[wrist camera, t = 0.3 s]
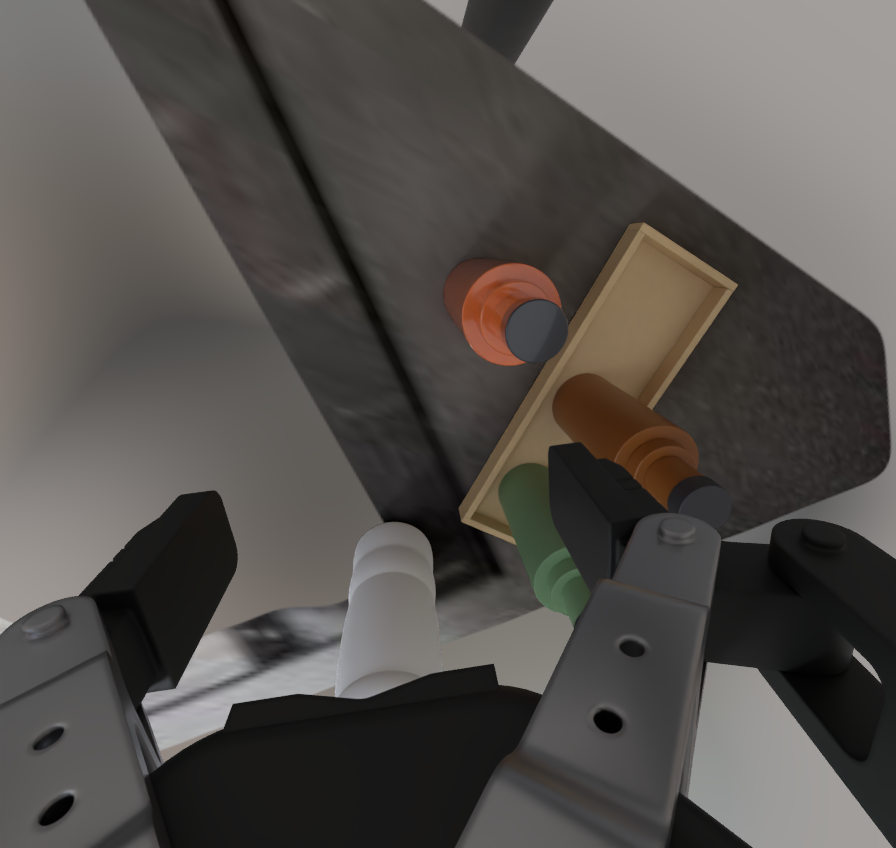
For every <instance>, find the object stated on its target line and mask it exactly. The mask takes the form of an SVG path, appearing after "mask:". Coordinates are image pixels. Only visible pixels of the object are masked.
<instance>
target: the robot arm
mask: <svg viewBox="0 0 896 848" xmlns="http://www.w3.org/2000/svg"><path fill="white" fill-rule="evenodd" d="M548 473H549V501H550V511H551V516H552V520H553V523H554V526H555V528H556V530H557V532H558V534H559V535H560V537H561V539H562V541H563V543H564V545H565V547H566V548H567V550H568V552H569V554H570V556H571V558H572V560H573V561H574V563H575V565H576V567H577V569H578V571H579V572H580V574H581V576H582V578H583V580H584V582H585V584H586V585H587V587H588V589H589V591H590V593H591V595H590V597H589V599H588V601H587V603H586V605H585V607H584V609H583V612H582V614H581V616H580V618H579V620H578V622H577V624H576V626H575V628H574V630H573V632H572V634H571V637H570V639H569V641H568V643H567V645H566V647H565V649H564V651H563V653H562V655H561V657H560V659H559V662H558V664H557V666H556V668H555V670H554V672H553V674H552V676H551V678H550V680H549V682H548V684H547V687H546V689H545V691H544V693H543V695H541V694H538V693H535V692H532V691H529V690H526V689H521V688H516V687H511V686H502V685H498V681H497V677H496V671H495V667H494V664H489V665H483V666H477V667H470V668H464V669H457V670H451V671H444V672H438V673H431V674H428V675H426V676H423V677H421V678H418V679H415V680H413V681H410V682H408V683H405V684H402V685H400V686H397V687H395V688H392V689H389V690H387V691H384V692H382V693H379V694H376V695H374V696H371V697H368V698H363V699H353V698H341V697H328V696H316V695H304V694H295V695H288V696H282V697H275V698H269V699H262V700H256V701H249V702H243V703H236V704H233V705H232V708H231V710H230V713H229V716H228V719H227V721H226V724H225V727H224V729H222V730H220V731H217V732H215V733H213V734H211V735H209V736H207V737H205V738H203V739H201V740H199V741H197V742H195V743H194V744H192V745H190V746H189V747H187V748H185V749H183V750H182V751H180V752H179V753H177V754H176V755H175V756H173V757H172V758H170V759H169V760H167V761H166V762H165V763H164V762H163V760H162V757H161V754H160V751H159V748H158V745H157V742H156V740H155V737H154V734H153V731H152V728H151V725H150V722H149V720H148V717H147V714H146V712H145V710H144V708H143V705H142V703H141V702H142V700H143V698H144V697H145V695H146V693H149V692H156V691H162V690H169V689H175V688H176V686H177V685H178V683H179V681H180V679H181V677H182V675H183V673H184V671H185V669H186V667H187V665H188V663H189V661H190V659H191V657H192V655H193V653H194V651H195V649H196V648H197V646H198V644H199V642H200V640H201V638H202V636H203V634H204V632H205V630H206V628H207V626H208V624H209V622H210V620H211V618H212V616H213V614H214V612H215V611H216V608H217V607H218V605H219V603H220V601H221V599H222V597H223V595H224V593H225V591H226V589H227V587H228V585H229V583H230V581H231V579H232V577H233V575H234V573H235V571H236V568H237V560H238V558H237V557H238V556H237V555H238V554H237V547H236V543H235V540H234V537H233V534H232V531H231V527H230V524H229V521H228V518H227V515H226V512H225V508H224V505H223V502H222V499H221V497H220V495H219V494H218V493H217V492H216V491H205V492H198V493H190V494H184V495H180V496H179V497H177V498H176V500H175V501H174V502H173V503H172V504H171V505H170V506H169V508H168V509H167V510H166V511H165V512H164V513H163V514H162V515H161V517H160V518H158V519H156V520H155V521H153V522H152V523H150V524H149V525H147V526H146V527H144V528H143V529H141V530H140V531H138V532H137V533H136V534H135V535H134V536H133V538H132V539H131V540H130V541H129V542H128V543H127V544H126V545H125V548H124V549H121V550H120V552H119V553H118V554H117V555H116V556H115V557H114V558H113V561H112V562H110V563H108V564H107V566H106V567H105V568H104V569H103V570H102V571H101V572H100V573H99V574H98V575H97V577H95V579H94V580H93V581H92V582H91V583H90V584H89V585H88V586H87V587H86V588H85V589H84V591H82V593H81V594H80V595H79V596H74V597H69V598H64V599H61V600H57V601H54V602H52V603H49V604H47V605H44V606H42V607H40V608H38V609H36V610H34V611H32V612H30V613H28V614H27V615H25V616H23V617H22V618H20V619H19V620H17V621H16V622H14V623H13V624H12V625H11V626H9V627H8V628H7V629H6V630H5V631H4V632H3V633H2V634H1V635H0V848H752V847H751V846H750V845H748V844H747V843H746V842H745V841H743V840H742V839H741V838H739V837H738V836H737V835H735V834H734V833H733V832H731V831H730V830H729V829H727V828H726V827H725V826H724V825H722V824H721V823H720V822H718V821H717V820H716V819H714V818H713V817H712V816H710V815H709V814H708V813H706V812H705V811H704V810H702V809H701V808H700V807H698V806H697V805H696V804H694V803H693V802H692V801H691V800H689V799H688V791H689V784H690V777H691V768H692V760H693V753H694V747H695V740H696V734H697V728H698V721H699V714H700V708H701V702H702V695H703V689H704V682H705V676H706V669H707V662H711V663H720V664H728V665H737V666H745V667H753V668H758V670H759V671H760V673H761V674H762V675H763V677H764V678H765V679H766V681H767V682H768V683H769V685H770V686H771V687H772V688H773V690H774V691H775V692H776V694H777V695H778V696H779V698H780V699H781V700H782V702H783V703H784V704H785V706H786V707H787V708H788V710H789V711H790V712H791V714H792V715H793V716H794V718H795V719H796V720H797V722H798V723H799V724H800V725H801V727H802V728H803V730H804V731H805V732H806V733H807V735H808V736H809V737H810V739H811V740H812V741H813V743H814V744H815V745H816V746H817V748H818V749H819V751H820V752H821V753H822V755H823V756H824V757H825V758H826V760H827V761H828V763H829V764H830V765H831V766H832V768H833V769H834V770H835V772H836V773H837V774H838V776H839V777H840V778H841V780H842V781H843V782H844V784H845V785H846V786H847V788H848V789H849V790H850V791H851V793H852V794H853V795H854V797H855V798H856V799H857V801H858V802H859V803H860V805H861V806H862V807H863V809H864V810H865V811H866V813H867V814H868V815H869V816H870V818H871V819H872V821H873V822H874V823H875V825H876V826H877V827H878V828H879V830H880V831H881V832H882V834H883V835H884V836H885V838H886V839H887V840H888V842H889V843H890V844H891V846H892V847H893V848H896V559H895V558H893V557H892V556H890V555H889V554H887V553H886V552H884V551H883V550H882V549H880V548H879V547H877V546H876V545H874V544H873V543H871V542H870V541H868V540H867V539H865V538H864V537H862V536H861V535H859V534H858V533H856V532H853V531H852V530H850V529H847V528H844V527H842V526H839V525H836V524H833V523H828V522H825V521H819V520H811V519H791V520H786V521H782V522H780V523H778V524H776V525H775V526H774V527H773V529H772V533H771V540H770V544H756V543H738V542H726V541H721V538H720V535H719V534H718V532H717V531H716V530H715V529H714V528H713V527H712V526H710V525H709V524H707V523H706V522H704V521H702V520H700V519H697V518H694V517H691V516H687V515H683V514H677V513H669V512H668V511H667V510H666V509H665V508H664V507H663V506H662V505H661V504H660V503H659V502H658V501H657V500H656V499H655V498H654V497H653V496H652V495H651V494H650V493H649V492H648V491H647V490H646V489H645V488H642V485H641V484H640V483H639V482H638V481H637V480H636V479H633V476H632V475H631V474H630V473H629V472H628V471H627V470H626V469H625V468H624V467H623V466H621V465H619V464H617V463H615V462H612V461H610V460H608V459H606V458H602V459H596V458H595V457H594V456H593V455H592V454H591V453H590V451H589V450H588V449H587V448H586V447H585V446H584V445H583V444H582V443H581V442H575V443H568V444H560V445H553V446H550V447H549V450H548ZM854 648H855V649H856V650H857V651H858V652H859V653H860V654H861V655H862V656H863V657H864V658H865V659H866V660H867V661H868V662H869V663H870V664H871V665H872V667H873V668H874V669H875V671H876V673H877V674H878V676H879V678H880V680H881V683H882V684H881V683H880V682H879V681H878V680H877V679H876V678H875V677H874V676H873V675H872V674H871V673H870V672H869V671H868V670H867V669H866V668H865V667H864V666H863V665H862V664H861V663H860V662H859V661H858V660H857V659H856V658H855V657H854V656H853V655H852V653H853V650H854Z"/></svg>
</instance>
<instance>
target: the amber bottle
mask: <svg viewBox="0 0 896 848" xmlns="http://www.w3.org/2000/svg"><path fill="white" fill-rule="evenodd" d="M552 411H553V416H554V419H555V421H556V422H557V424H558V425H559V426H560V427H561V429H562V430H563V431H564V432H565V433H566V434H567V435H568V437H569V438H570V439H571V440H572V441H573V442H574V443H575V442H581V443H582V444H583V445H584V446H585V447H586V448H587V449H588V450H589V451H590V453H591V454H592V455H593V456H594V457H595V458H596V459H602V458H606V459H608V460H610V461H612V462H615V463H617V464H619V465H621V466H623V467H624V468H625V469H626V470H627V471H628V472H629V473H630V474H631V475H632V476H633V479H636V480H637V481H638V482H639V483H640V484H641V485H642V488H645V489H646V490H647V491H648V492H649V493H650V494H651V495H652V496H653V497H654V498H655V499H656V500H657V501H658V502H659V503H660V504H662V505H663V506H664V507H665V508H666V509H667V510H668V511H669V513H677V514H683V515H687V516H691V517H694V518H697V519H700V520H702V521H704V522H706V523H707V524H709V525H710V526H712V527H713V528H714V529H717V528H718V527H720V526H721V525H722V524H723V523H724V522H725V521H726V520H727V518H728V517H729V515H730V512H731V509H732V500H731V497H730V494H729V493H728V492H727V491H726V490H725V489H724V488H723V487H721V486H720V485H719V484H717V483H716V482H715V481H713V480H712V479H710V478H708V477H706V476H703V475H702V474H701V473H699V472H698V471H697V467H698V461H699V455H698V450H697V446H696V444H695V442H694V440H693V439H692V437H691V436H690V435H689V434H688V433H687V432H685V431H684V430H682V429H681V428H679V427H678V426H676V425H675V424H673V423H672V422H670V421H669V420H667V419H666V418H664V417H662V416H661V415H659V414H658V413H656V412H655V411H653V410H652V409H650V408H649V407H647V406H646V405H644V404H642V403H641V402H639V401H638V400H636V399H635V398H633V397H632V396H630V395H629V394H627V393H626V392H624V391H622V390H621V389H619V388H618V387H616V386H615V385H613V384H612V383H610V382H609V381H607V380H606V379H604V378H602V377H601V376H598V375H596V374H589V373H586V374H579V375H576V376H574V377H571V378H570V379H568V380H567V381H565V382H564V383H563V384H562V385H561V386H560V388H559V389H558V390H557V392H556V394H555V396H554V399H553V404H552Z"/></svg>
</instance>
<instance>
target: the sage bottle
mask: <svg viewBox="0 0 896 848" xmlns="http://www.w3.org/2000/svg"><path fill="white" fill-rule="evenodd" d="M498 496H499V500H500V503H501V506H502V508H503V511H504V514H505V516H506V519H507V521H508V524H509V527H510V529H511V532H512V535H513V537H514V540H515V542H516V545H517V548H518V550H519V553H520V555H521V558H522V561H523V563H524V566H525V569H526V571H527V574H528V576H529V579H530V582H531V584H532V587H533V589H534V592H535V595H536V597H537V598H538V600H539V601H540V602H541V603H542V604H543V605H544V606H545V607H547V608H549V609H550V610H553V611H555V612H560V613H562V614H564V615H567V616H569V618H570V620H571V622H572V625H573V627H574V628H575V626H576V624H577V622H578V620H579V618H580V616H581V614H582V612H583V609H584V607H585V605H586V603H587V601H588V599H589V597H590V595H591V593H590V591H589V589H588V587H587V585H586V584H585V582H584V580H583V578H582V576H581V574H580V572H579V571H578V569H577V567H576V565H575V563H574V561H573V560H572V558H571V556H570V554H569V552H568V550H567V548H566V547H565V545H564V543H563V541H562V539H561V537H560V535H559V534H558V532H557V530H556V528H555V526H554V523H553V520H552V516H551V511H550V501H549V473H548V468H547V467H545V466H543V465H540V464H536V463H526V464H521V465H518V466H516V467H514V468H513V469H511V470H510V471H509V472H508V473H507V474H506V475H505V476H504V477H503V479H502V480H501V482H500V485H499V489H498Z"/></svg>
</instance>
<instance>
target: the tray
mask: <svg viewBox="0 0 896 848" xmlns="http://www.w3.org/2000/svg"><path fill="white" fill-rule="evenodd" d="M737 286H738V284H736V283H735V282H733V281H732V280H730V279H729V278H727V277H726V276H724V275H723V274H721V273H720V272H718V271H717V270H715V269H714V268H712V267H711V266H709V265H708V264H706V263H705V262H703V261H702V260H700V259H699V258H697V257H696V256H694V255H692V254H691V253H689V252H688V251H686V250H685V249H683V248H682V247H680V246H679V245H677V244H676V243H674V242H673V241H671V240H670V239H668V238H667V237H665V236H664V235H662V234H661V233H659V232H658V231H656V230H655V229H653V228H652V227H650V226H649V225H647V224H646V223H644V222H643V223H633V224H629V226H628V228H627V229H626V231H625V233H624V234H623V236H622V238H621V239H620V241H619V243H618V244H617V246H616V248H615V249H614V251H613V253H612V254H611V256H610V258H609V259H608V261H607V263H606V264H605V266H604V268H603V269H602V271H601V273H600V274H599V276H598V278H597V279H596V281H595V283H594V284H593V286H592V288H591V289H590V291H589V293H588V294H587V296H586V298H585V299H584V301H583V303H582V304H581V306H580V308H579V309H578V311H577V313H576V314H575V316H574V317H573V319H572V321H571V322H570V324H569V326H568V336H567V339H566V342H565V344H564V346H563V348H562V349H561V350H560V352H559V353H558V354H557V355H555V356H554V357H553V358H551V359H550V360H548V361H547V362H546V364H545V366H544V367H543V369H542V371H541V372H540V374H539V376H538V377H537V379H536V381H535V382H534V384H533V386H532V387H531V389H530V391H529V392H528V394H527V396H526V397H525V399H524V401H523V402H522V404H521V406H520V407H519V409H518V411H517V412H516V414H515V415H514V417H513V419H512V420H511V422H510V424H509V425H508V427H507V429H506V430H505V432H504V434H503V435H502V437H501V439H500V440H499V442H498V444H497V445H496V447H495V449H494V450H493V452H492V454H491V455H490V457H489V459H488V460H487V462H486V464H485V465H484V467H483V469H482V470H481V472H480V474H479V475H478V477H477V479H476V480H475V482H474V484H473V485H472V487H471V489H470V490H469V492H468V494H467V495H466V497H465V499H464V500H463V502H462V504H461V505H460V507H459V513H460V517H461V522H463V523H466V524H468V525H470V526H473V527H475V528H477V529H480V530H482V531H484V532H487V533H489V534H491V535H494V536H496V537H498V538H501V539H503V540H506V541H508V542H510V543H513V544H515V545H516V542H515V540H514V537H513V535H512V532H511V529H510V527H509V524H508V521H507V519H506V516H505V514H504V511H503V508H502V506H501V503H500V500H499V496H498V489H499V485H500V482H501V480H502V479H503V477H504V476H505V475H506V474H507V473H508V472H509V471H510V470H511V469H513V468H514V467H516V466H518V465H521V464H526V463H536V464H540V465H543V466H545V467H547V468H548V450H549V447H550V446H553V445H560V444H568V443H574V442H573V441H572V440H571V439H570V438H569V437H568V435H567V434H566V433H565V432H564V431H563V430H562V429H561V427H560V426H559V425H558V424H557V422H556V421H555V419H554V416H553V411H552V404H553V399H554V396H555V394H556V392H557V390H558V389H559V388H560V386H561V385H562V384H563V383H564V382H565V381H567V380H568V379H570V378H571V377H574V376H576V375H579V374H586V373H589V374H596V375H598V376H601V377H602V378H604V379H606V380H607V381H609V382H610V383H612V384H613V385H615V386H616V387H618V388H619V389H621V390H622V391H624V392H626V393H627V394H629V395H630V396H632V397H633V398H635V399H636V400H638V401H639V402H641V403H642V404H644V405H646V406H647V407H649V408H650V409H653V408H654V406H655V405H656V403H657V402H658V400H659V399H660V397H661V396H662V395H663V393H664V392H665V390H666V389H667V387H668V386H669V384H670V383H671V381H672V380H673V379H674V377H675V376H676V374H677V373H678V371H679V370H680V368H681V367H682V365H683V364H684V363H685V361H686V360H687V358H688V357H689V355H690V354H691V352H692V351H693V350H694V348H695V347H696V345H697V344H698V342H699V341H700V339H701V338H702V336H703V335H704V334H705V332H706V331H707V329H708V328H709V326H710V325H711V323H712V322H713V320H714V319H715V318H716V316H717V315H718V313H719V312H720V310H721V309H722V307H723V306H724V304H725V303H726V302H727V300H728V299H729V297H730V296H731V294H732V293H733V291H734V290H735V289H736V287H737Z"/></svg>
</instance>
